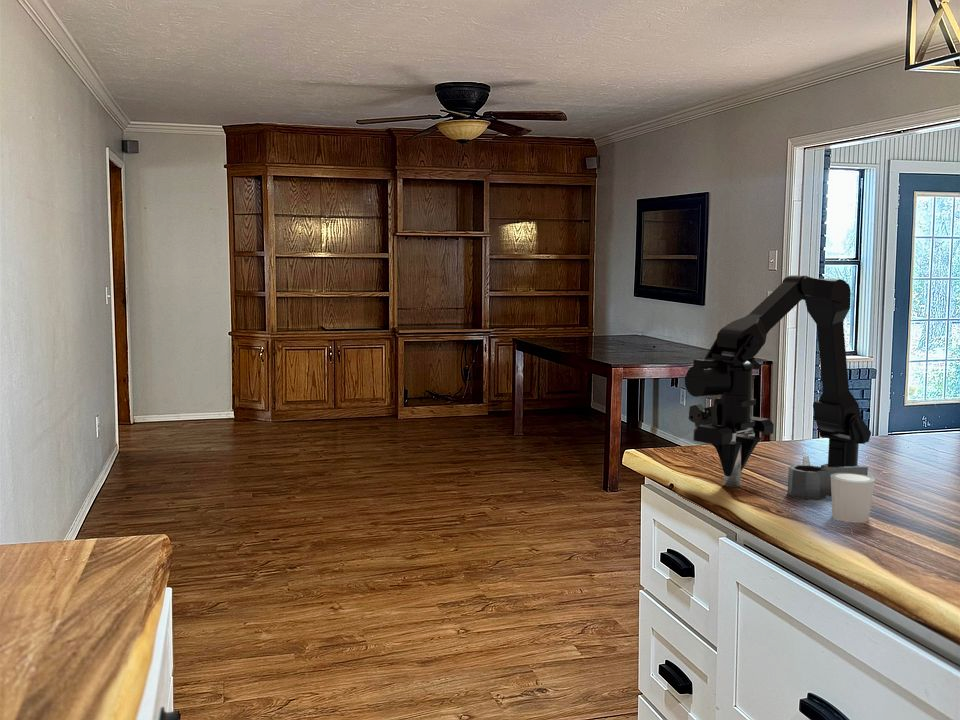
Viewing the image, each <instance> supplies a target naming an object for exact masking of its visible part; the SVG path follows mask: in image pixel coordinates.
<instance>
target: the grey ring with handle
mask: <svg viewBox="0 0 960 720" xmlns="http://www.w3.org/2000/svg"><path fill="white" fill-rule="evenodd" d="M810 462H811V461H810V457H809V455H802V464H794V465H790V466H788V477H787V494H788V495H789V496H790V497H792V498H795V499H800V500H806V501H807V500H809V501H821V500H823V499H826V498H827V496H832V495H831V474H834V473H855V474H861V475H866V476H868V471H869V467H868V466H866V465H858V466H844V467H821V466H817V465H812V464H811V463H810Z"/></svg>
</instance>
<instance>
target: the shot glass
mask: <svg viewBox="0 0 960 720" xmlns="http://www.w3.org/2000/svg"><path fill="white" fill-rule="evenodd" d="M875 482H876V479H875V477H872V476H869V475H867V476H866V475H861V474H855V473H834V474H831V495H830V496H831V514H832V518H833V519H835V520H837V521H841V522H846V523H851V522H852V523H853V524H863V523H867V522H869V521H870V520H869V519H870V515H871V507H872V501H873V495H874V489H875ZM852 523H851V524H852Z"/></svg>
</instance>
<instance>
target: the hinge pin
mask: <svg viewBox="0 0 960 720" xmlns="http://www.w3.org/2000/svg"><path fill="white" fill-rule="evenodd" d="M741 455H742V444H741V446H740V449H739V452H738V456H737V459H736V462H735V465H734V468H733V471H732V474H731V476H725V475H724V474H723V475H724V476H723V485H724V486H725V485H726V486H725V487H728V486H729V487H730V488H738V487H741V479H742V478H741V477H742V476H741V475H742V474H741V473H742V471H741Z"/></svg>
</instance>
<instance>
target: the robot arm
mask: <svg viewBox="0 0 960 720" xmlns="http://www.w3.org/2000/svg"><path fill="white" fill-rule="evenodd" d="M851 292H852V291H851V287H850V284H849V283H847V282H846V281H845V280H844V279H841V278H838V279H837V278H815V277H810V276H808V275H798V274H797V275H793V274H791V275H788V276H786V277H784V278H783V280H782V282H781V284H780V285H778V287H776V288H775V289H774V290H773V291H772V292H771V293H770V294H769V295H768V296H766V298H765V299H764V300H762V301H761V303H759V304H758V305H757V306H756V307H755V308H754V309H753V310H752V311H751V312H749V314H747V315H745V316H744V317H740V318H738V319H735V320H733V321H731V322H730V323H728V324H726V325H725V326H723V327H721V329H720V330H719V331H718V332H717V334H716V338H715V340H714V342H713V343H712V345H711V346H710V349H709V350H708V352H707V354H706V356H704V359H698V358H695V359H693V362H692V364H693V365H692V366H690V367H689V369H688V370H687V372H686V375H685V376H684V385H685V389H686V391H687V392H688V394H690V396H692V397H695V398H697V397H708V396H711V397H712V396H719V397H715V399H714V400H713V405H712V406H708V407H704V406H703V405H702V403H700V404H694V405H691V406H689V410H688V411H689V412H688V420H689V421H690V422H691V423H694V426H695V427H694V429H693V436H692V437H693V438H692V439H693V441H694V442H700V443H704V444H710V445H712V446H713V447H714V448H715V449H716V452H717V454H718V458H719V461H720V465H721V467H722V471H723V473H724V474H723V475H725V476H731V474H732V471H733V468H734V465H735V462H736V459H737V456H738V452H739V449H740V446H741V444H742V455H741V472H742V471H743V470H744V467H745V466H746V464H747V462H748V460H749V458H750V457H751V455H752V453H753V452H754V450H755V448H756V447H757V445H758V443H759V442H760V441H761V440H762V437H759V436H755V435H756V433H755V432H760V433H762V435H764V436H768V435H773V434H774V427H775V425H774V422H772V419H770V418H765V417H760V416H759V417H758V416H753V415H752V413H751V412H752V406H755V405H757V400H756V398H752V393H753V389H752V388H753V371H754V370H761V369H762V365H761V364H760V363H759V362H758V361H757V360H756V358H755V357H756V356H757V354H758V353H759V352H760V350H762V348H763V347H764V345H765V344H766V341H767V335H768V334H769V332H770V331H771V330H772V329H773V328H774V327H775V326H776V325H777V324H778V323H779V322H780V321H781V320H782V319H783V318H784V317H786V315H787V314H788V313H790V311H792V310H793V309H794V308H795V307H796V306H797V305H798V304H799V303H800V302H801V301H804V302H805V307H806V310H807V313H808V314H809V316H810V317H811V318H812V320H813V321H814V323H815V325H816V333H817V343H818V352H819V353H818V354H819V366H820V376H821V386H822V393H821V395H820V397H819V398H818V400H817V401H813V404H812V408H813V412H814V413H813V415H814V416H813V421H814V422H815V423H816V426H817V429H818V434H819V437H820V438H826V439H828V454H827V463H825V464H820V467H844V466H859V465H858V464H859V463H858V460H859V444H860V445H862V444H863V445H865V444H866V443H869V442H870V438H871V435H872V432H871V429H870V428H869V427H868V425H867V424H866V423H865V421H864V420H863V418H862V415H861V411H860V407H859V403H858V401H857V400H856V398H855V397H854V395H852V392H851V391H850V386H849V377H848V376H849V375H848V373H849V372H848V363H847V353H846V352H847V351H846V350H847V349H846V340H845V339H846V338H845V330H844V329H845V328H844V321H845V319H846V317H847V315H848V313H849V311H850V309H851V300H852V299H851V297H852V296H851V295H852V293H851ZM751 415H752V416H751Z"/></svg>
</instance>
